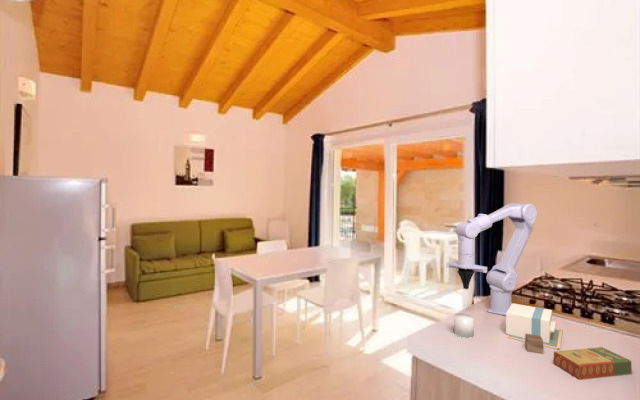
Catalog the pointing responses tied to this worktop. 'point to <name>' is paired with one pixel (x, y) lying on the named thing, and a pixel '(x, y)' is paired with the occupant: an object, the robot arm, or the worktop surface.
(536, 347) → the walnut block
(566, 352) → the carton
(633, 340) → the worktop surface
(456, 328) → the white glossy dome
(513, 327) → the milk carton
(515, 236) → the robot arm
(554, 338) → the display mat
